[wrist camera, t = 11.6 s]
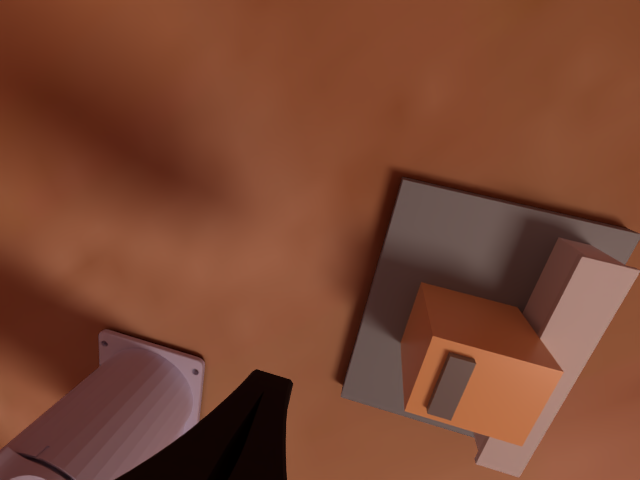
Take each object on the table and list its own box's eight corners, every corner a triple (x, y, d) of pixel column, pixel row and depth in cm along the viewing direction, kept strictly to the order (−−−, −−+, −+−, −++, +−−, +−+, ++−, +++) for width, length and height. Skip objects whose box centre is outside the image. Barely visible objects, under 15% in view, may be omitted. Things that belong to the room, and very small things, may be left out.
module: (489, 368, 19) (524, 453, 14) (400, 343, 20) (404, 416, 15) (517, 307, 18) (567, 377, 13) (421, 282, 18) (433, 340, 13)
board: (513, 437, 21) (538, 499, 18) (342, 385, 23) (334, 434, 19) (627, 228, 17) (693, 256, 13) (402, 176, 18) (406, 189, 14)
